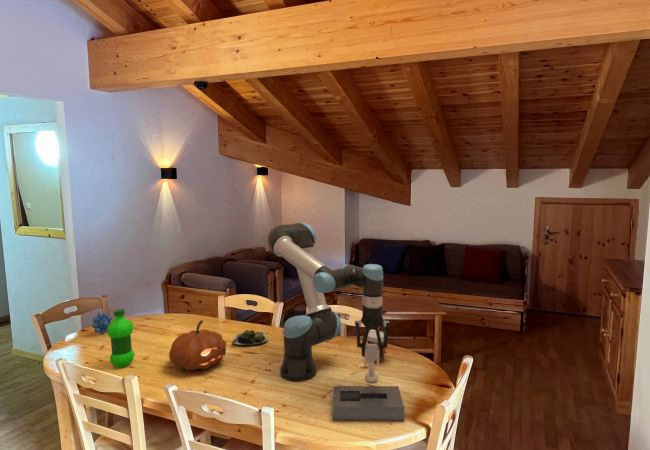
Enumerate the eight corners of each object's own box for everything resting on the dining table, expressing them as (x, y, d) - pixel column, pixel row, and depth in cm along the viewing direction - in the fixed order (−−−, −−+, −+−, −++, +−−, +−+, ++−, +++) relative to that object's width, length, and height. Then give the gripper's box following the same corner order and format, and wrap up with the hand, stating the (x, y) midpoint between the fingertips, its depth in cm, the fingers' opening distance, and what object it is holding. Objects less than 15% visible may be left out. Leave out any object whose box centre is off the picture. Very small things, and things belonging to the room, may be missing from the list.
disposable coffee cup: (386, 365, 181) (386, 339, 180) (364, 363, 183) (364, 337, 182) (387, 356, 191) (388, 331, 189) (367, 354, 192) (367, 329, 191)
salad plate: (231, 334, 220) (231, 326, 220) (265, 331, 224) (265, 323, 223) (231, 349, 201) (231, 340, 201) (268, 345, 205) (268, 336, 205)
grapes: (98, 339, 215) (96, 316, 213) (89, 337, 218) (88, 315, 216) (118, 331, 225) (116, 310, 224) (109, 329, 228) (107, 308, 227)
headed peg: (365, 383, 159) (365, 348, 157) (364, 377, 164) (365, 343, 162) (378, 383, 159) (379, 348, 157) (377, 377, 164) (377, 343, 162)
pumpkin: (213, 379, 170) (211, 335, 168) (157, 375, 174) (155, 332, 172) (236, 354, 195) (234, 315, 193) (186, 351, 199) (184, 313, 197)
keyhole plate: (332, 420, 141) (332, 406, 140) (333, 398, 155) (333, 385, 154) (404, 421, 140) (404, 407, 139) (398, 399, 154) (398, 386, 153)
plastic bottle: (104, 368, 182) (100, 313, 179) (123, 358, 191) (119, 305, 188) (122, 371, 178) (118, 315, 175) (140, 361, 188) (137, 308, 185)
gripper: (350, 308, 154) (349, 368, 157) (396, 309, 153) (395, 369, 156) (349, 302, 161) (349, 359, 164) (393, 302, 161) (392, 360, 164)
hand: (371, 364), depth 160 cm, fingers closed on headed peg, 4 cm apart
